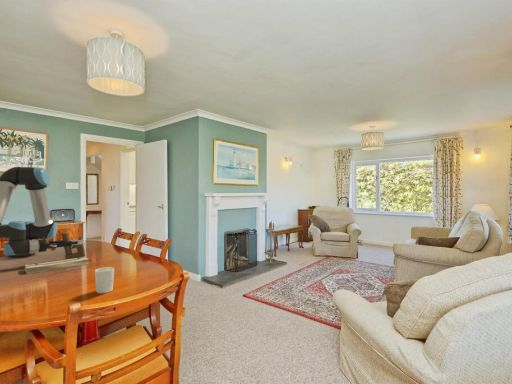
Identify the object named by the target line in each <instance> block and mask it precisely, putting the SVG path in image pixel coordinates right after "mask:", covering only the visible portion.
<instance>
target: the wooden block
mask: <svg viewBox="0 0 512 384" xmlns="http://www.w3.org/2000/svg"><path fill="white" fill-rule="evenodd" d="M69 236H70V235H69V232H68V231H66V232H62V233H61V237H62V240H63V241H64V242H69V241H70V240H71V239H70V237H69ZM69 239H70V240H69ZM78 240H83V236H82V235H80V236H79V238H78ZM63 248H64V252H65V255H64V258H65V259H71V258H77V257H86V251H85V245H84V243H83V244H79V245H72V246H66V247H63ZM73 249H76V252H72V250H73Z"/></svg>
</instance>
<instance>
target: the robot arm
mask: <svg viewBox="0 0 512 384" xmlns="http://www.w3.org/2000/svg"><path fill="white" fill-rule="evenodd" d="M50 178H51V176H50V174H49V172H48V170H47V169H46V168H45V167H38V166H36V167H34V166H30V167H29V166H14V167H11V168H8V169H7V170H6V171H4V172H3V173H2V174H0V239H8V240H7V241H8V242H5V243H4V244H3V254H4V256H6V257H7V258H21V257H22V258H23V257H30V256H32V255H35V254H36V253H45V252H47V250H48V249H49V248H50V249H57V248H64V247H66V246H71V247H72V246H73V245H79V244H83V245H84V239H82V240H78V239H79V238H78V239H76V238H75V239H71V238H69V240H70V241H69V242H64V241H63V239H62V240H52V239H54V238H55V237H56V236H57V233H58V229H59V226H58V222H54V219H53V218H51V216H50V209H49V204H48V198H47V193H46V189H47V187H48V185H50V182H51V179H50ZM17 186H24V187H25V190H27V191H28V193H29V197H30V203H31V207H32V212H33V217H34V221H33V220H28V221H27V220H26V221H23V220H14V221H13V220H12V221H9V222H8V224H3V221H4V217H5V215H6V212H7V210H8V206H9V203H10V201H11V197H12V195H13V191H14V190H15V189H17ZM47 240H50V241H48V242H47Z"/></svg>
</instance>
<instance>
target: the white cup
mask: <svg viewBox="0 0 512 384" xmlns="http://www.w3.org/2000/svg"><path fill="white" fill-rule="evenodd" d="M94 279H95V280H94V281H95V289H96V290H95V291H96V293H97V294H107V293H110V292H112V291H114V290H113V289H114V280H115V267H111V266H105V267H104V266H103V267H99V268H96V269H95V270H94Z"/></svg>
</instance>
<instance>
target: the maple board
mask: <svg viewBox="0 0 512 384" xmlns="http://www.w3.org/2000/svg"><path fill="white" fill-rule="evenodd" d="M89 264H90V259H89V258H87V257H86V256H85V257H77V258H71V259H57V260H50V261H45V262H44V261H43V262H37V263H35V262H34V263H28V264H24V272H25V273H26V274H27V275H29V274H34V273H35V274H36V273H42V272H47V271H48V272H49V271H55V270H60V269H61V270H62V269H67V268H73V267H80V266H87V265H89Z"/></svg>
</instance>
